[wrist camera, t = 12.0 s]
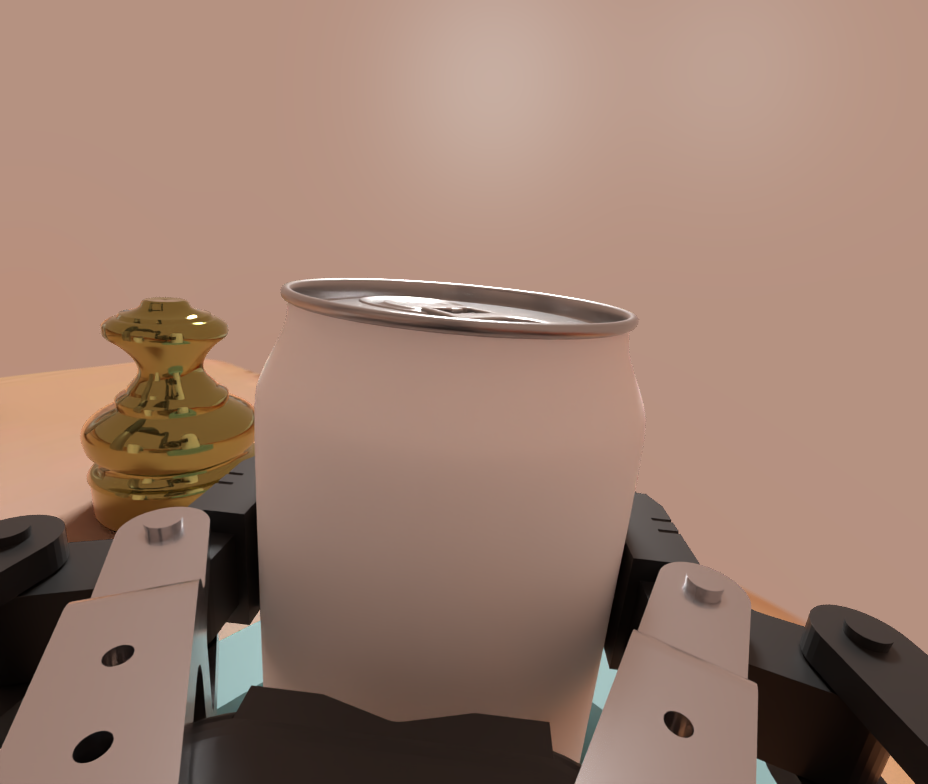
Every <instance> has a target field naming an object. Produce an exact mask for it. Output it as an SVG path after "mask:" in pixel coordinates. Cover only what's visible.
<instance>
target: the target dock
mask: <svg viewBox="0 0 928 784" xmlns="http://www.w3.org/2000/svg"><path fill="white" fill-rule="evenodd" d="M617 671H618V670H614V669H609V665H608V662H607V658H606V654H605V650H604V647H603V652H602V657H601V662H600V667H599V672H598V676H597V681H596V686H595V691H594V696H593V701H592V705H591V710H590V715H589V720H588V725H587V729H586V734H585V739H584V744H583V748H582V753H581V758H580V764H581V765H582V763H583V761H584V758H585V755H586V753H587V750H588V748H589V745H590V742H591V740H592V737H593V734H594V732H595V729H596V726H597V724H598V721H599V718H600V716H601V713H602V710H603V708H604V705H605V703H606V700H607V697H608V695H609V692H610V689H611V687H612V684H613V681H614V679H615V676H616V673H617ZM251 685H253V686H261V687H263V669H262V643H261V620H260V621H258V622H256V623H254V624H252V625H250V626H248V627H246V628H244V629H242V630H240V631H238V632H236V633H234V634H232V635H230V636H228V637H226V638H224V639H222V640H220V641H219V666H218V694H217V715H221V714H225V713H232V712H236V711H237V710H238V708H239V706H240V704H241V703H242V701H243V699H244V697H245V695H246V694H247V692H248V690H249V688H250V687H251ZM756 784H777V783H776V781H775V780H774V778H773V777H772V775H771V773H770V771H769V770H768V768H767V766H766V763H765V762H764V761H761V760H759V759H757V768H756Z"/></svg>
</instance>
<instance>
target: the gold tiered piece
mask: <svg viewBox="0 0 928 784" xmlns="http://www.w3.org/2000/svg"><path fill="white" fill-rule="evenodd" d="M100 332H101V335H102V336H103V337H104V338H105V339H106V340H108V341H109V342H111V343H113V344H115V345H117V346H118V347H120V348H121V349H123V350H124V351H125V352H126V353H128V354H129V355H130V356H131V357H132V358H133V360H134V361H135V363H136V365H137V367H138V372H137V375H136V376H135V378H134V379H133V380H132V381H131V382H130V383H129V385H128V386H127V388H126V389H124V390H122V391H120V392H119V393H118V394H117V395H116V396H115V398H114V402H112V403H110V404H108V405H106V406H105V407H103V408H101V409H100V410H98V411H97V412H95V413H94V414H93V415H92V416H91V417H90V418H89V419H88V420H87V421H86V422H85V424H84V425H83V427H82V429H81V433H80V439H81V444H82V446H83V449H84V452H85V453H86V455H87V457H88V458H89V459H90V460H92V461H93V462H94V464H93V465H92V466H91V468H90V469H89V471H88V473H87V482H88V484H89V485H90V487H91V494H92V501H93V508H94V514H95V517H96V519H97V520H98V521H99V522H100V523H101V524H102V525H104V526H105V527H107V528H109V529H111V530H114V531H116V532H117V531H118V529H119V528H120V527H121V526H122V525H124V524H125V523H126V522H128V521H129V520H131V519H133V518H135V517H137V516H139V515H142V514H144V513H147V512H150V511H154V510H158V509H163V508H169V507H188V506H189V505H190V504H191V503H193V502H194V501H195V500H196V499H197V498H199V497H200V496H201V495H202V494H203V493H205V492H206V491H207V490H208V489H209V488H211V487H212V486H213V485H214V484H215V483H218V482H219V480H220V479H221V478H223V477H224V476H225V475H226V474H229V472H230V471H231V470H232V469H233V468H235V467H236V466H237V465H238V464H239V463H241V462H242V461H244V460H246V459H249V458H251V457H253V456H255V443H253V442H254V441H255V417H254V406H253V405H252V404H250V403H249V402H248V401H246V400H244V399H243V398H241V397H238V396H236V395H233V394H231V393H229V390H228V389H227V388H226V387H225V386H224V385H222V384H220V383H217V382H216V381H215V379H213V378H212V377H211V376H210V375H209V374H208V373H207V372H206V371H205V369H204V360H205V357H206V355H207V354H208V352H209V351H210V350H211V349H212V347H213V346H214V345H215V344H217V343H218V342H219V341H221V340H222V339H223V338H225V337H226V335H227V334H228V325H227V323H226V322H225V321H224V320H223V319H221V318H219V317H218V316H215V315H212V314H211V313H210V312H209V311H206V310H201V309H195V308H193V307H191V305H190V304H189V302H188V301H187V300H185V299H181V298H171V297H155V298H147V299H144V300H142V301H141V303H140V306H139V307H137V308H134V309H127V310H123V311H120V312H119V313H118V314H117V315H114V316H112V317H109V318H108V319H106V320H105V321H103V322H102V323H101V325H100Z"/></svg>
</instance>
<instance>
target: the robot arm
mask: <svg viewBox="0 0 928 784" xmlns="http://www.w3.org/2000/svg"><path fill="white" fill-rule="evenodd" d="M259 610H260V591H259V564H258V536H257V508H256V475H255V456H253V457H251V458H249V459H246V460H244V461H242V462H241V463H239V464H238V465H237V466H236V467H235V468H233V469H232V470H231V471H230V472H229V474H226V475H225V476H224V477H223V478H221V479H220V480H219V482H218V483H215V484H214V485H213V486H212V487H211V488H209V489H208V490H207V491H206V492H205V493H203V494H202V495H201V496H200V497H199V498H197V499H196V500H195V501H194V502H193V503H191V504H190V505H189V506H188V507H169V508H163V509H158V510H154V511H150V512H147V513H144V514H142V515H139V516H137V517H135V518H133V519H131V520H129V521H128V522H126V523H125V524H124V525H122V526H121V527H120V528H119V529H118V531H117V532H116V534H115V537H114V539H108V540H96V541H83V542H70V543H68V541H67V535H66V529H65V524H64V522H63V521H62V520H61V519H59V518H57V517H54V516H48V515H27V516H19V517H14V518H9V519H4V520H0V749H1V750H0V784H756V768H757V759H759V760H761V761H764V762H765V763H766V766H767V768H768V770H769V771H770V773H771V775H772V777H773V778H774V780H775V781H776V783H777V784H887V783H886V782H885V781H884V779H883V778H882V777H881V774H882V772H883V769H884V767H885V765H886V763H887V761H888V758H889V756H890V755H891V756H892V757H893V759H894V760H895V761H896V762H897V763H898V764H899V765H900V767H901V768H902V769H903V770H904V771H905V772H906V773H907V775H908V776H909V777H910V778H911V779H912V780H913V781H914V782H915V784H928V655H927V654H926V653H924V652H923V651H922V650H921V649H920V648H918V647H917V646H916V645H915V644H914V643H913V642H911V641H910V640H909V639H908V638H906V637H905V636H904V635H903V634H901V633H900V632H898V631H897V630H895V629H894V628H892V627H891V626H889V625H887V624H886V623H884V622H882V621H880V620H878V619H876V618H874V617H872V616H869V615H867V614H865V613H862V612H860V611H857V610H853V609H850V608H847V607H842V606H837V605H820V606H816V607H814V608H813V609H812V610H811V611H810V614H809V617H808V620H807V623H806V625H805V627H804V626H800V625H797V624H794V623H791V622H788V621H784V620H781V619H778V618H775V617H772V616H768V615H765V614H762V613H760V612H757V611H754V610H752V609H751V602H750V599H749V597H748V595H747V594H746V592H745V591H744V590H743V589H742V588H741V587H740V586H739V585H738V584H737V583H736V582H734V581H733V580H732V579H730V578H729V577H727V576H725V575H724V574H722V573H720V572H718V571H716V570H714V569H711V568H709V567H706V566H703V565H700V564H699V562H698V561H697V559H696V557H695V556H694V554H693V553H692V551H691V550H690V548H689V547H688V545H687V544H686V542H685V541H684V539H683V537H682V536H681V534H678V530H677V528H676V527H675V525H674V524H673V523H671V519H670V517H669V516H668V515H667V513H666V511H665V510H664V508H663V507H662V506H661V505H660V504H658V503H657V502H655V501H654V500H653V499H652V498H650V497H649V496H648V495H646V494H641V493H636V491H635V494H634V499H633V504H632V509H631V515H630V520H629V525H628V530H627V535H626V540H625V545H624V549H623V554H622V559H621V564H620V569H619V574H618V579H617V584H616V589H615V594H614V599H613V604H612V609H611V613H610V618H609V623H608V628H607V633H606V638H605V643H604V650H605V654H606V658H607V662H608V665H609V669H614V670H618V671H617V673H616V676H615V679H614V681H613V684H612V687H611V689H610V692H609V695H608V697H607V700H606V703H605V705H604V708H603V710H602V713H601V716H600V718H599V721H598V724H597V726H596V729H595V732H594V734H593V737H592V740H591V742H590V745H589V748H588V750H587V753H586V755H585V758H584V761H583V763H582V765H581V764H580V763H578V762H576V761H574V760H572V759H570V758H568V757H566V756H564V755H562V754H559V753H557V752H555V751H553V748H552V740H551V731H550V722H545V721H537V720H529V719H520V718H512V717H504V716H496V715H488V714H480V713H470V714H462V715H454V716H445V717H437V718H429V719H421V720H412V721H404V722H395V721H390V720H387V719H384V718H382V717H379V716H377V715H374V714H372V713H369V712H367V711H364V710H362V709H359V708H357V707H354V706H352V705H349V704H347V703H344V702H342V701H339V700H337V699H334V698H332V697H329V696H327V695H324V694H318V693H310V692H302V691H294V690H285V689H277V688H269V687H261V686H253V685H251V687H250V688H249V690H248V692H247V694H246V695H245V697H244V699H243V701H242V703H241V704H240V706H239V708H238V710H237V711H236V712H232V713H225V714H221V715H217V694H218V666H219V638H218V632H219V631H220V630H221V628H222V627H223V626H224V624H225V623H226V622H229V623H238V624H246V625H250V624H251V622H252V621H253V619H254V617H255V616H256V614H257V613H258V611H259Z"/></svg>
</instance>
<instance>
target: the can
mask: <svg viewBox="0 0 928 784" xmlns="http://www.w3.org/2000/svg"><path fill="white" fill-rule="evenodd" d="M281 296H282V297H283V299H284V300H285V301H287V302H288V306H287V315H286V320H285V323H284V326H283V328H282V331H281V333H280V335H279V337H278V339H277V341H276V343H275V345H274V347H273V349H272V351H271V353H270V355H269V358H268V359H267V361H266V363H265V365H264V368H263V370H262V372H261V375H260V377H259V380H258V383H257V386H256V394H255V406H254V417H255V475H256V508H257V536H258V564H259V591H260V617H261V643H262V669H263V687H269V688H277V689H285V690H294V691H302V692H310V693H318V694H324V695H327V696H329V697H332V698H334V699H337V700H339V701H342V702H344V703H347V704H349V705H352V706H354V707H357V708H359V709H362V710H364V711H367V712H369V713H372V714H374V715H377V716H379V717H382V718H384V719H387V720H390V721H395V722H404V721H412V720H421V719H429V718H437V717H445V716H454V715H462V714H470V713H480V714H488V715H496V716H504V717H512V718H520V719H529V720H537V721H545V722H550V731H551V740H552V748H553V751H555V752H557V753H559V754H562V755H564V756H566V757H568V758H570V759H572V760H574V761H576V762H578V763H580V758H581V753H582V748H583V744H584V739H585V734H586V729H587V725H588V720H589V715H590V710H591V705H592V701H593V696H594V691H595V686H596V681H597V676H598V672H599V667H600V662H601V657H602V652H603V647H604V643H605V638H606V633H607V628H608V623H609V618H610V613H611V609H612V604H613V599H614V594H615V589H616V584H617V579H618V574H619V569H620V564H621V559H622V554H623V549H624V545H625V540H626V535H627V530H628V525H629V520H630V515H631V509H632V504H633V499H634V494H635V489H636V484H637V479H638V474H639V468H640V462H641V456H642V450H643V444H644V438H645V426H646V416H645V410H644V406H643V401H642V397H641V393H640V390H639V386H638V383H637V380H636V377H635V373H634V370H633V367H632V363H631V359H630V354H629V332H630V331H632V330H634V329H635V328H636V327H637V325H638V317H637V316H636V315H635V314H633V313H631V312H629V311H627V310H624V309H621V308H618V307H615V306H611V305H607V304H602V303H598V302H593V301H588V300H583V299H577V298H571V297H565V296H558V295H552V294H545V293H538V292H530V291H523V290H514V289H505V288H495V287H487V286H477V285H466V284H454V283H443V282H429V281H413V280H395V279H394V280H393V279H365V278H326V279H325V278H324V279H307V280H298V281H293V282H289V283H286V284H284V285H283V286H282V287H281Z"/></svg>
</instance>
